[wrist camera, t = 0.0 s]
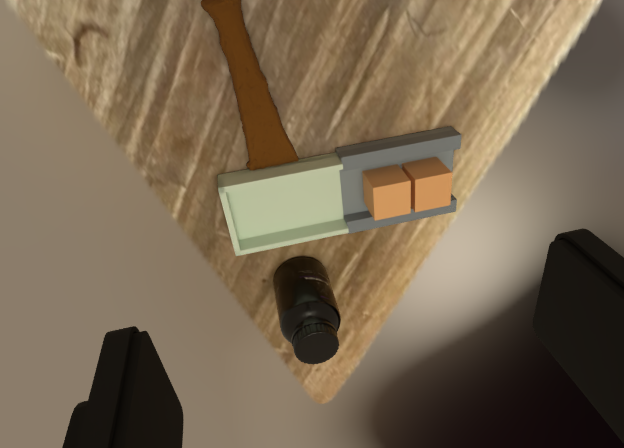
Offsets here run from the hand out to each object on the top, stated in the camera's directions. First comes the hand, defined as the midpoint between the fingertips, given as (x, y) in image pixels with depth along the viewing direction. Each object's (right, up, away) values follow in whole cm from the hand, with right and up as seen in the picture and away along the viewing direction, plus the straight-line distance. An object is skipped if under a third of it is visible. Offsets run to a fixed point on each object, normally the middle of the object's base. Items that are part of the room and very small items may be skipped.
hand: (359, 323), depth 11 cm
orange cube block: (+7, +7, +40) cm, 41 cm away
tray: (-4, +5, +40) cm, 41 cm away
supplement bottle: (-3, -4, +47) cm, 47 cm away
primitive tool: (-7, +15, +34) cm, 38 cm away
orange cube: (+11, +8, +41) cm, 43 cm away
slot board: (+8, +8, +41) cm, 43 cm away
